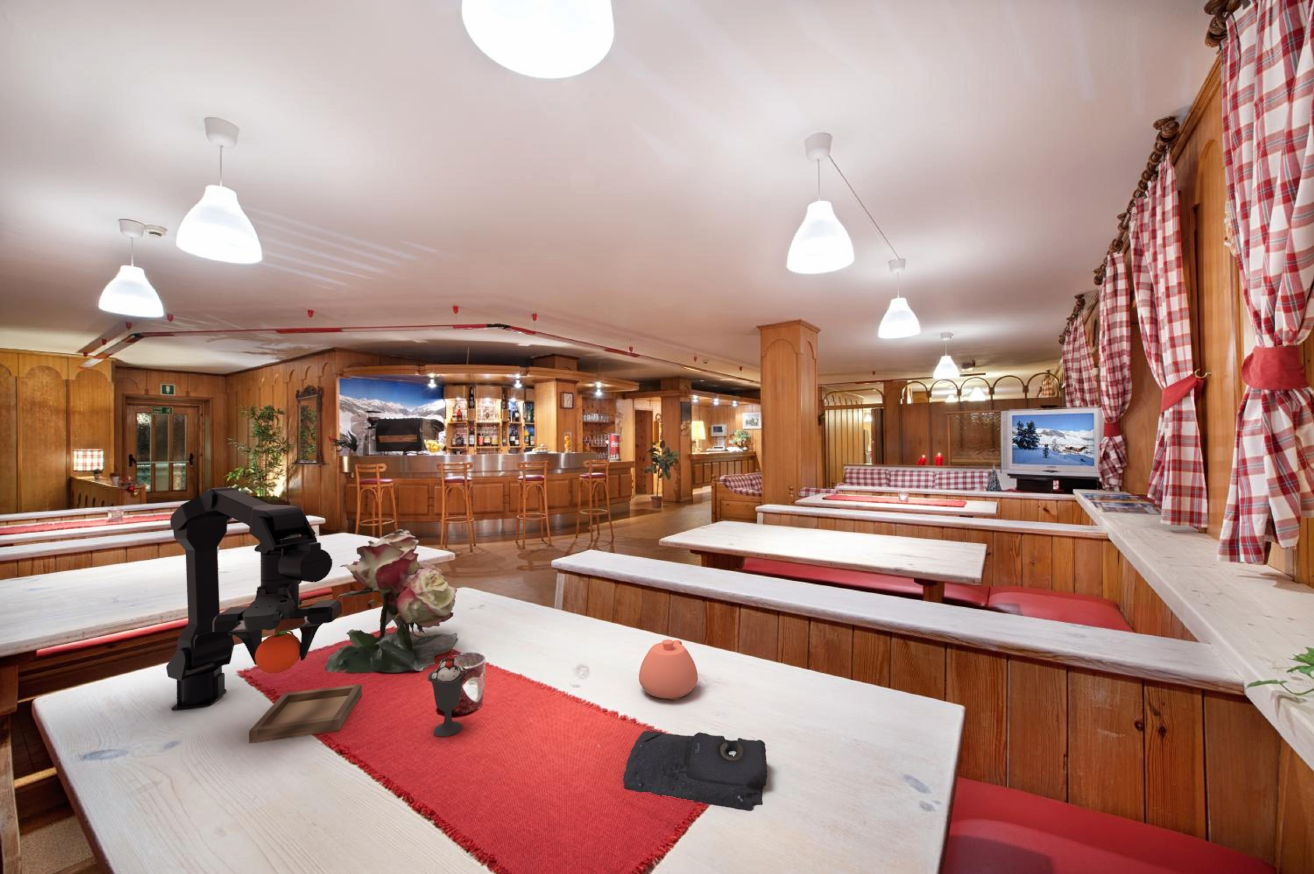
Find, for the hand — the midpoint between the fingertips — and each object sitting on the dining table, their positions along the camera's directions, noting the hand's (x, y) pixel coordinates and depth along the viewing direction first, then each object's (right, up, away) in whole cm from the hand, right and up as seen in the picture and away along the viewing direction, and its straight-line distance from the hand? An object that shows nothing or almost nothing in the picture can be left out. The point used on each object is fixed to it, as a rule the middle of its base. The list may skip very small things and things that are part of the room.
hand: (280, 661), depth 96 cm
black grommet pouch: (+75, -12, -13) cm, 77 cm away
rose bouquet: (+6, -12, +34) cm, 37 cm away
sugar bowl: (+72, -12, +14) cm, 74 cm away
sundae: (+31, -12, -1) cm, 33 cm away
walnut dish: (+3, -12, +4) cm, 13 cm away
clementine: (0, -2, 0) cm, 2 cm away
